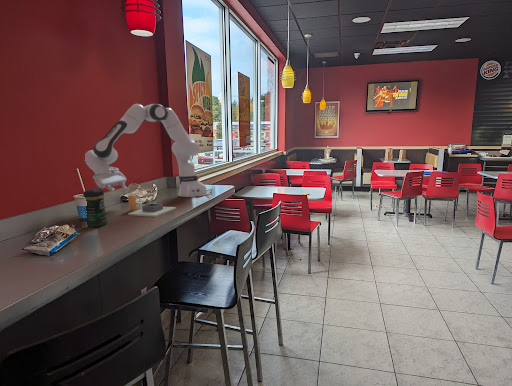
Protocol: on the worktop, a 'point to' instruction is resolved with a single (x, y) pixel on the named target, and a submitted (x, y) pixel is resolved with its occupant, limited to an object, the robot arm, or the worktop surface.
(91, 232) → the worktop surface
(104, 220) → the coffee jar
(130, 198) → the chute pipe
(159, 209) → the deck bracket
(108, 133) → the robot arm
